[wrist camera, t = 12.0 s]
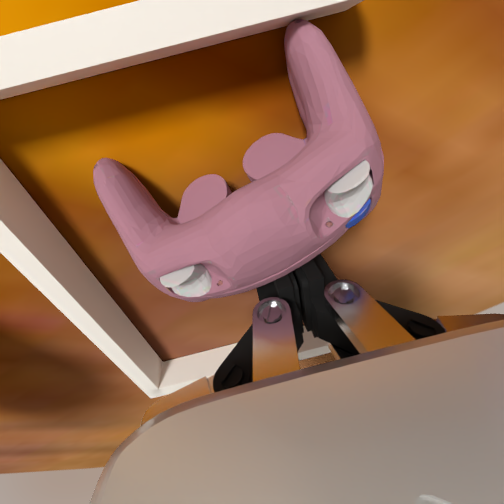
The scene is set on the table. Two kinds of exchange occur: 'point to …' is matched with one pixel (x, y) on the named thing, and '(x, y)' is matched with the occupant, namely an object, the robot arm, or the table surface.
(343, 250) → the table surface
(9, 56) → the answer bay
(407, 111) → the table surface
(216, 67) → the table surface
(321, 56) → the video game controller
